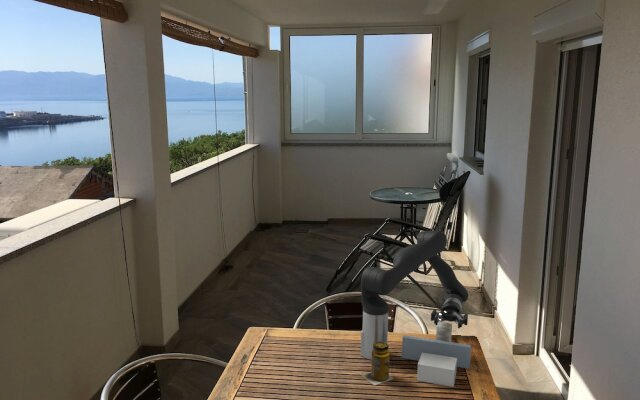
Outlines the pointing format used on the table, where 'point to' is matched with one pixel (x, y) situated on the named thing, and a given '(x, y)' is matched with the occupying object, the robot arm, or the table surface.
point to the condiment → (379, 364)
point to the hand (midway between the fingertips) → (447, 324)
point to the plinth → (437, 369)
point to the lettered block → (444, 331)
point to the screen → (435, 349)
